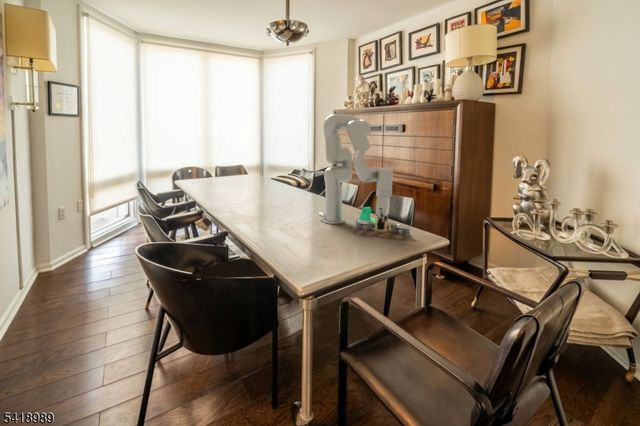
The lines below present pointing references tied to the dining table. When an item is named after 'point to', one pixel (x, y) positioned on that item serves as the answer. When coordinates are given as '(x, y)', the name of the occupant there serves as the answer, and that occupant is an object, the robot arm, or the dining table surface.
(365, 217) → the camera mount
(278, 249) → the dining table surface
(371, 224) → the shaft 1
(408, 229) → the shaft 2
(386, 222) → the gold square block
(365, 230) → the shaft bed
